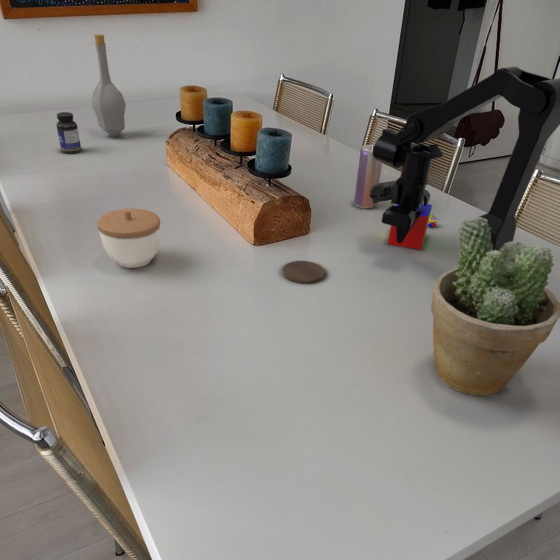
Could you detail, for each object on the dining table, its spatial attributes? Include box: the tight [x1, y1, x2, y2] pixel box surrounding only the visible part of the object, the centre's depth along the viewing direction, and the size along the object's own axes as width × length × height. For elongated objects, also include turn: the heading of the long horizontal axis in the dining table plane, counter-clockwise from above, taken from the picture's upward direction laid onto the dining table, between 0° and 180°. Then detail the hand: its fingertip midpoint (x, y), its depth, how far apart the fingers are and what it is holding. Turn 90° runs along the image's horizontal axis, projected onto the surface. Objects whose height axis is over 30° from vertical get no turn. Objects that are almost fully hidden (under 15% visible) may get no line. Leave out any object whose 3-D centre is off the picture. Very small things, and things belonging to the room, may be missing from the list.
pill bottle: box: [55, 111, 82, 155], centre depth 170 cm, size 6×6×11 cm
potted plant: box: [430, 216, 560, 397], centre depth 83 cm, size 18×19×25 cm
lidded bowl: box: [96, 208, 161, 269], centre depth 114 cm, size 13×13×11 cm
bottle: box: [91, 33, 127, 137], centre depth 178 cm, size 11×11×30 cm
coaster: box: [282, 260, 326, 284], centre depth 116 cm, size 9×9×1 cm
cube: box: [387, 202, 433, 251], centre depth 129 cm, size 8×8×8 cm
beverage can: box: [353, 144, 383, 210], centre depth 143 cm, size 6×6×15 cm
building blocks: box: [428, 214, 438, 228], centre depth 141 cm, size 6×8×2 cm
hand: (399, 242), depth 125 cm, fingers closed
